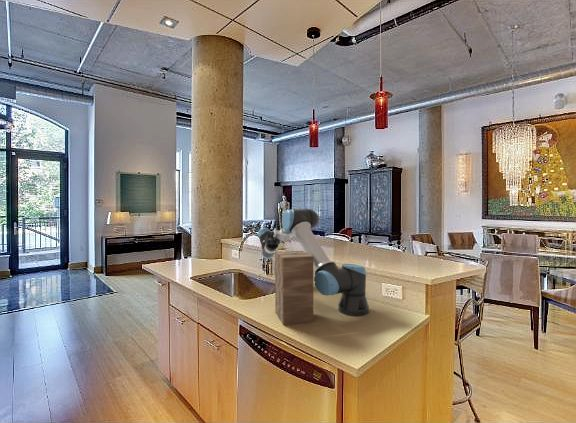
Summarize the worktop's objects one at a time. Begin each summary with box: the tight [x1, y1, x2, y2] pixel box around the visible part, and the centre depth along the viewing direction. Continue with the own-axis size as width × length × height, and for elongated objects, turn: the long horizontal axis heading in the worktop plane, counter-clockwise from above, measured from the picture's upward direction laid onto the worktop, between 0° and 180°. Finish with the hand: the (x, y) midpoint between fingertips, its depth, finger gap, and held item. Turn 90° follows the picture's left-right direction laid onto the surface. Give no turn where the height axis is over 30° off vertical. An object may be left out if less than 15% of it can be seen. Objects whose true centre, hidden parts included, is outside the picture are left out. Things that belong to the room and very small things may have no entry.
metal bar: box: [275, 230, 290, 243], centre depth 174 cm, size 26×3×3 cm, turn 15°
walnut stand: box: [274, 250, 314, 326], centre depth 150 cm, size 16×14×30 cm
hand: (279, 230), depth 177 cm, fingers closed on metal bar, 3 cm apart
